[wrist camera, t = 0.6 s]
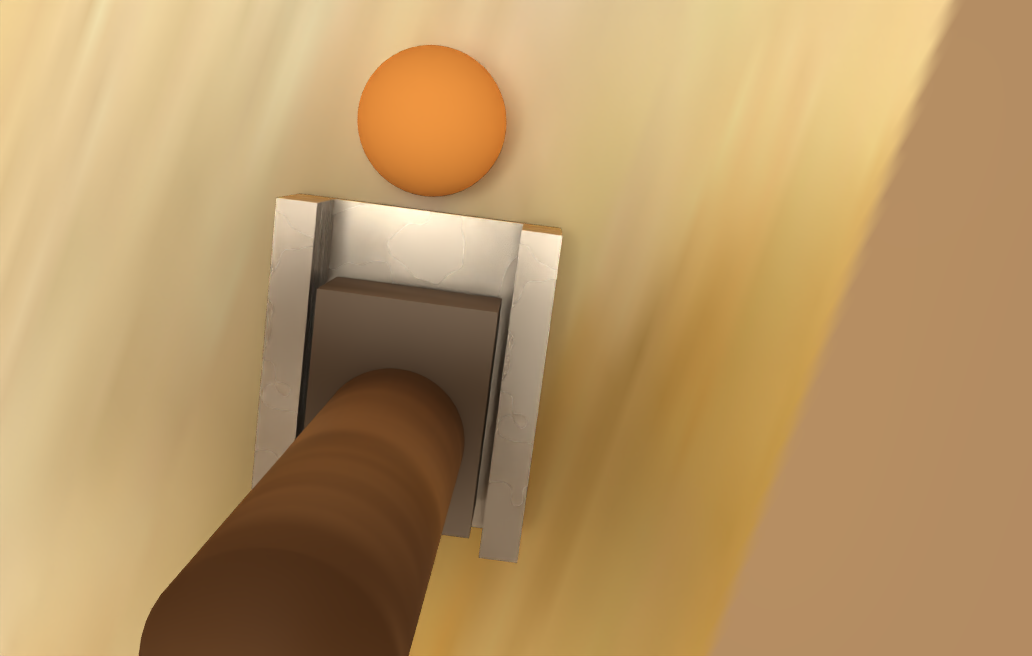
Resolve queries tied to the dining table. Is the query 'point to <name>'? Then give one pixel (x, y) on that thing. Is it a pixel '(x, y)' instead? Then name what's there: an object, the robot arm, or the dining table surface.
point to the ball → (431, 120)
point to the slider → (349, 487)
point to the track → (425, 264)
